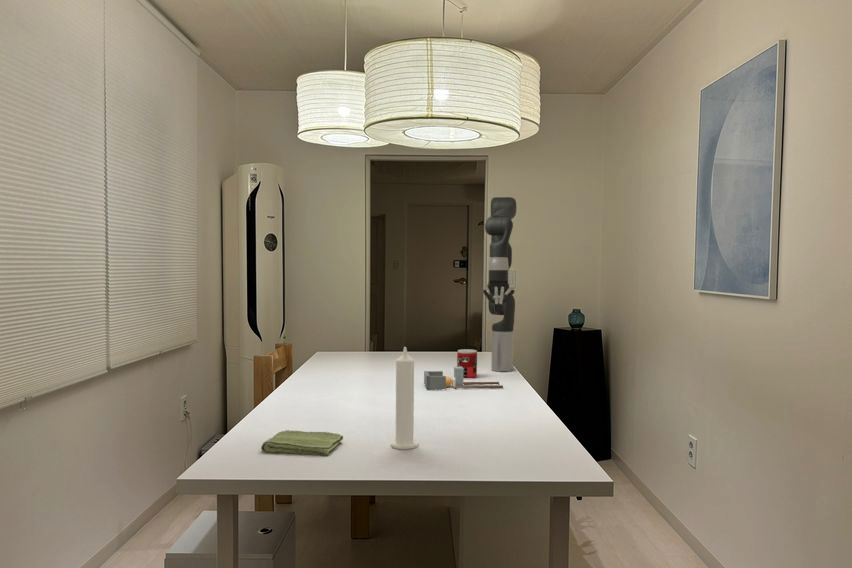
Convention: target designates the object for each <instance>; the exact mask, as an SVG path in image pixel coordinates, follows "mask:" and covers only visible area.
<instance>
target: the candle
mask: <svg viewBox="0 0 852 568" xmlns="http://www.w3.org/2000/svg"><path fill="white" fill-rule="evenodd" d="M414 390H415V359H414V358H412V356H410V355H409V353H408V349H407V347H406V346H404V347H403V350H402V354H401V355H400V356H399V357H398V358H397V359H396V360H395V439H393V440H391V441H390V447H391V448H392V449H396V450H403V451H406V450H414V449H417V448H418V447H419V441H417V440H416V439H414V429H415V428H414V426H415V425H414V419H415V418H414V417H415V416H414V412H415V411H414V410H415V409H414V408H415V406H414V404H415V399H414V397H415V391H414Z"/></svg>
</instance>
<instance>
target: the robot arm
mask: <svg viewBox="0 0 852 568" xmlns="http://www.w3.org/2000/svg"><path fill="white" fill-rule="evenodd" d="M516 215H517V201H516V199H515V198H514V197H513V196H512V197H511V196H505V197H504V196H503V197H502V196H499V197H498V196H497V197H492V198H491V200H490V216H489V217H487V219H486V221H485V224H484V231H485V233H486V234H487V235H488V236H491V238H490V239H491V240H490V244H489V258H488V259H489V260H488V283H487V285H486V287H485V288H484V289H482V290H481V292H482V294H483V295H484V296H485V297H486V299H487V300H488V302H487V303H488V311H489V313H490V314H491V315H493V316H494V315H496V316H503V318H502V320H499V321H498V322H495V323H493V324H492V325H491V370H492V371H494V372H500V371H507V372H512V371H513V370H514V369H513V368H514V367H513V366H514V365H513V364H514V326H515V314H516V313H515V312H516V311H515V310H516V300H515V297H514V295H513V294H514V293H515V290H514V289H512V288H511V287H510V284H509V270H510V268H511V266H512V261H513V259H512V258H513V249H512V246H511V244H510V238H511V235H512V232H513V228H514V222H513V220H512V219H514V218H515V217H516Z"/></svg>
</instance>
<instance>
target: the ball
mask: <svg viewBox="0 0 852 568" xmlns="http://www.w3.org/2000/svg"><path fill="white" fill-rule="evenodd" d="M445 376H446V375H445ZM451 386H452V377H449V376H446V388H449V387H451Z"/></svg>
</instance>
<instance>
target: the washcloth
mask: <svg viewBox="0 0 852 568" xmlns="http://www.w3.org/2000/svg"><path fill="white" fill-rule="evenodd" d="M343 440H344V435H342V434H339V433H333V432H328V431H304V430H303V431H301V430H289V429H287V430H286V429H285V430H281V431H279V432H277V433H276V434H275V435H273V436H272V437H271V438H269V439H267V440H265V441H264V442H262V445H261V446H260V447H261V448H260V449H261V452H263V453H267V454H277V455H278V454H279V455H284V454H285V455H310V456H311V455H313V454H314V455H317V456H328V455H329V454H330V452H332V450H333V449H335V448H336V447H337V446H338V445H339V444H340V443H341V441H343Z"/></svg>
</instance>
